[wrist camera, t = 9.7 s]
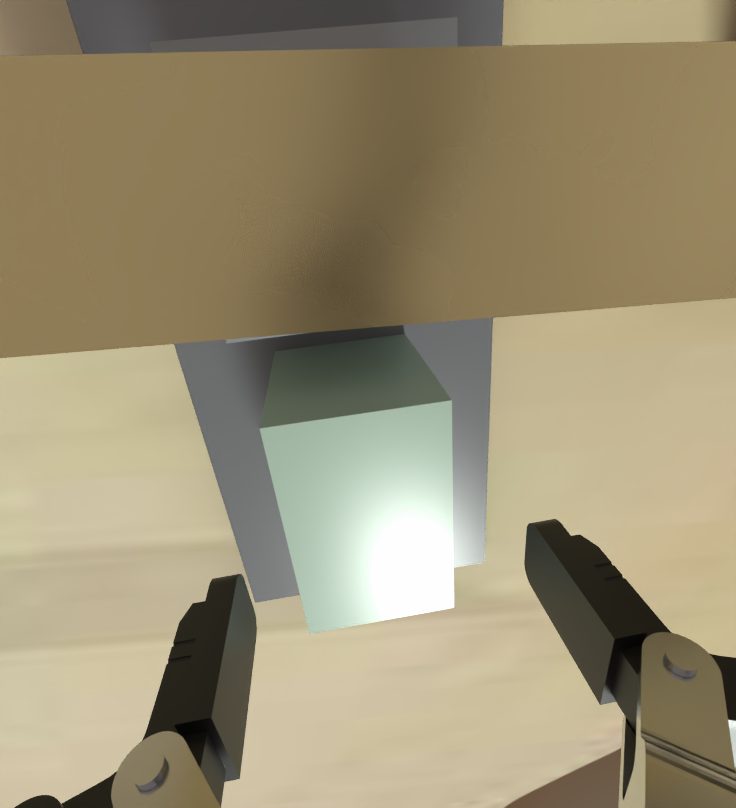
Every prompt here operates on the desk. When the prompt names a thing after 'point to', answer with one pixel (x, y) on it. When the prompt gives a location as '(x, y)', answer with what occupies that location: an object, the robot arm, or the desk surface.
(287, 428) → the mint green block
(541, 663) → the desk surface
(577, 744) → the desk surface
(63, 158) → the t key
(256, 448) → the base board
